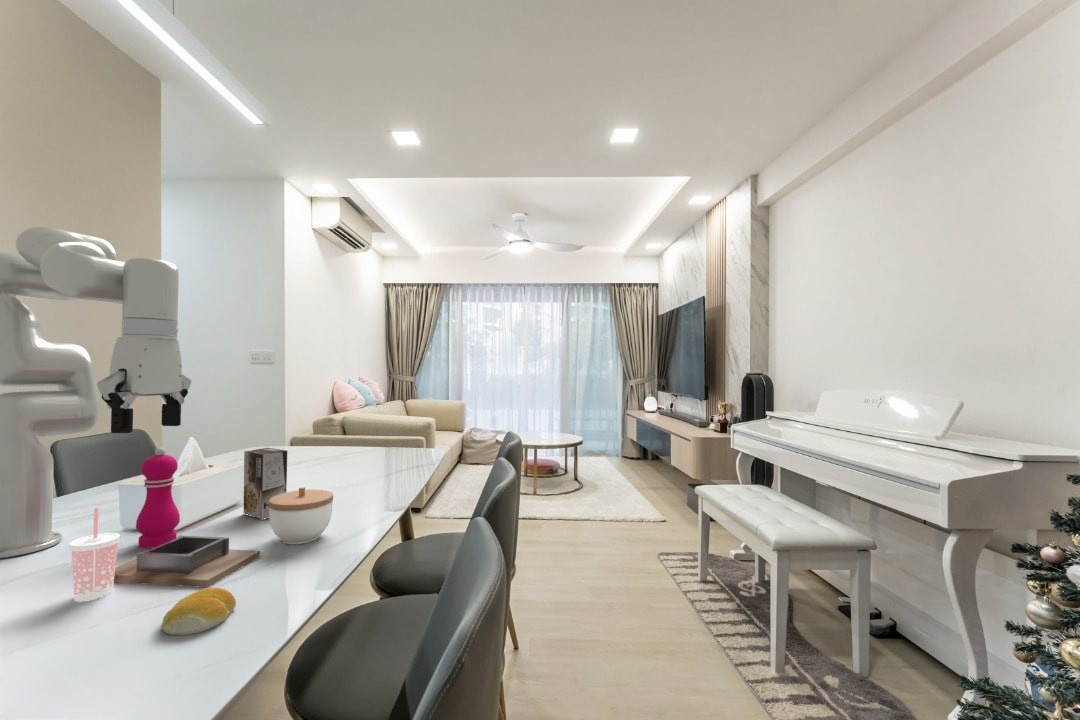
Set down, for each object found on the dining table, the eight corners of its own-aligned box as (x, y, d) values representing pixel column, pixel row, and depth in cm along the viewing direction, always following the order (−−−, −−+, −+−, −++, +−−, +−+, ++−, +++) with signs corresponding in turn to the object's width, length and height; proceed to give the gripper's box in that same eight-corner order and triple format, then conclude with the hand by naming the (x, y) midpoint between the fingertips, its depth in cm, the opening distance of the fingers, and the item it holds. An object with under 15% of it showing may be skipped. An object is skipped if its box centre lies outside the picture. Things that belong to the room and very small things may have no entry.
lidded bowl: (253, 546, 99) (254, 492, 99) (297, 526, 111) (298, 479, 111) (304, 552, 96) (306, 497, 96) (344, 531, 108) (345, 483, 108)
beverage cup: (119, 582, 81) (122, 500, 82) (118, 596, 77) (120, 509, 77) (69, 593, 77) (72, 507, 78) (64, 608, 73) (67, 516, 73)
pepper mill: (154, 550, 96) (157, 451, 96) (125, 547, 97) (128, 449, 97) (188, 538, 103) (190, 445, 103) (160, 535, 104) (163, 444, 104)
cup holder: (99, 581, 82) (100, 556, 82) (165, 552, 95) (166, 531, 95) (207, 587, 80) (207, 562, 80) (259, 556, 93) (260, 535, 93)
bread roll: (242, 603, 75) (243, 577, 75) (217, 633, 67) (218, 605, 67) (183, 608, 74) (183, 582, 74) (149, 640, 65) (150, 610, 65)
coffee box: (287, 514, 120) (288, 450, 121) (261, 520, 115) (262, 454, 115) (267, 508, 125) (269, 446, 125) (241, 514, 120) (243, 450, 120)
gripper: (170, 334, 92) (168, 423, 91) (79, 326, 74) (76, 435, 74) (208, 334, 91) (206, 423, 91) (124, 326, 74) (121, 436, 74)
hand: (147, 429), depth 82 cm, fingers open, 9 cm apart
